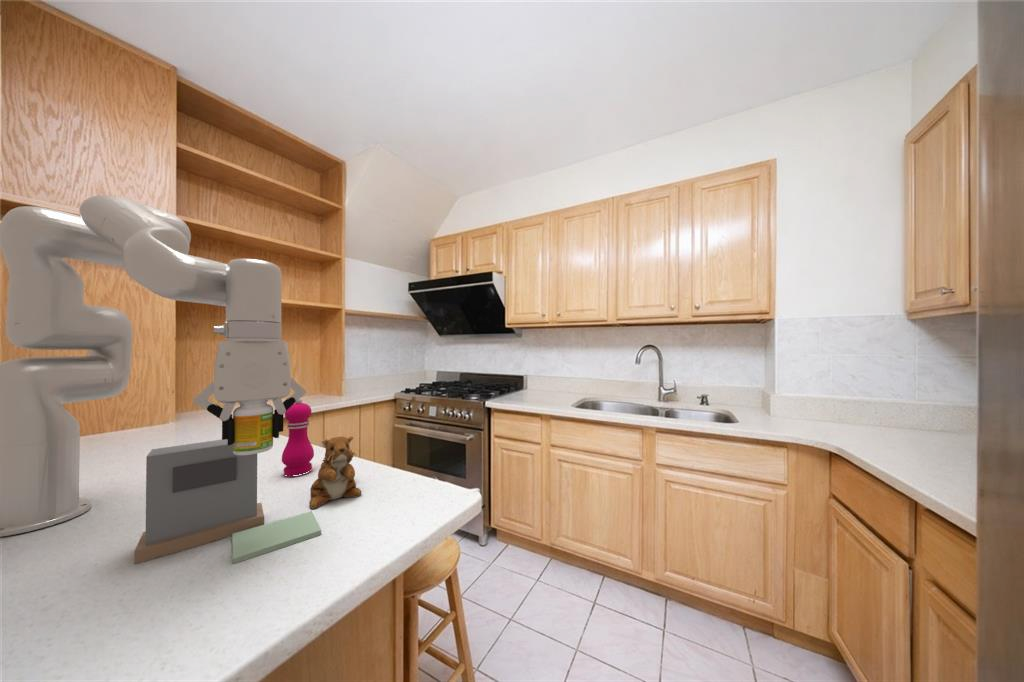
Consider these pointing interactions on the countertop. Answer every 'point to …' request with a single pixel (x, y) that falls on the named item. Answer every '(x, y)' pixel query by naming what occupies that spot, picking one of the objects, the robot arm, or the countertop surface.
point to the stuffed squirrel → (335, 473)
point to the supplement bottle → (252, 428)
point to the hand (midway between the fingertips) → (253, 438)
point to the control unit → (197, 497)
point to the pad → (273, 536)
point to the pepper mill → (298, 440)
